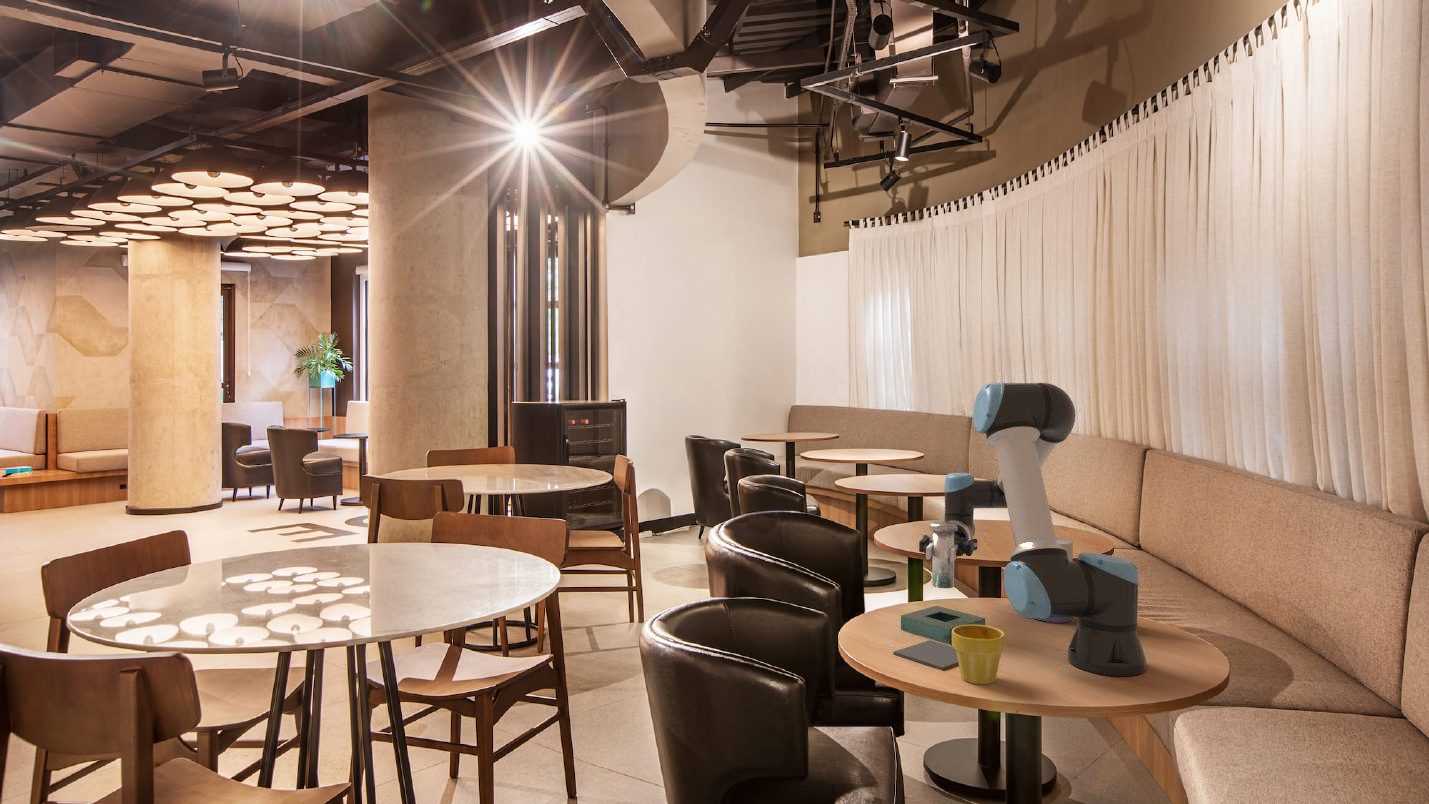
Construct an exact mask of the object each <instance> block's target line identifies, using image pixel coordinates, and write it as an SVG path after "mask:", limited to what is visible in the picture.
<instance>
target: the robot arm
mask: <svg viewBox="0 0 1429 804" xmlns="http://www.w3.org/2000/svg"><path fill="white" fill-rule="evenodd" d="M972 419H973V421H972V422H973V426H974V427H973V428H974V429H975V431H976V432H977V433H978V434H981V435H984V434H985V436H986V442H987V444H988V446H990V447H992V448H993V449H995V451H996V456H997V461H998V466H999V467H998V468H999V472H1000V473H999V475H998V476H997V477H996V479H995V480H993V479H992V480H991V479H989V480H983V479H982V480H981V479H979V480H977V479H975V477H974V475H973V474H972V473H967V472H950V473H947V474H946V476H945V480H944V490H943V491H944V521H943V522H953V523H956V524H957V531H956V532H954V546H953V548H952V549H951V561H953V562H954V563H955V561H956V559H957V558H958V557H963V556H964V555H965V556H966V557H972V556H973V553H974V551H976V550H978V539H977V538H974V537H975V531H976V528H975V527H976V526H975V524H974V515H975V514H974V511H975V509H1007V512H1008V516H1009V522H1010V527H1011V533H1012V539H1013V541H1014V542H1013V543H1014V548H1015V549H1014V551H1013V552H1012V553H1011V555H1010V556H1009V560H1010V562H1008V564H1006V565H1005V568H1004V571H1003V576H1004V578H1003V587H1004V591H1005V594H1006V597H1007V599H1008V602H1009V604H1010V605H1011V606H1012V608H1013V610H1014V611H1016V613H1017V614H1018V615H1020V616H1022V617H1023V618H1029V619H1030V618H1031V619H1034V618H1039V619H1046V618H1057V617H1072V618H1077V619H1076V620H1077V621H1076V622H1077V623H1076V628H1075V630H1074V632H1073V635H1072V637H1071V641H1070V643H1069V646H1068V649H1067V660H1068V661H1067V662H1069V664H1071V665H1072V666H1074V667H1076V668H1078V669H1081V670H1083V671H1087V672H1091V673H1093V674H1094V673H1095V674H1099V675H1104V676H1105V675H1106V676H1114V677H1133V676H1138V675H1141V674H1144V673H1145V672H1146V670H1147V658H1146V655H1145V652H1144V649H1143V646H1142V643H1141V640H1140V637H1139V633H1138V613H1139V612H1138V609H1139V607H1138V606H1139V586H1140V581H1139V572H1138V569H1137V568H1138V567H1137V565H1136V564H1135V563H1133V561H1130V560H1128V559H1125V558H1121V557H1119V556H1113V555H1109V554H1103V553H1097V552H1089V551H1088V552H1087V551H1086V552H1085V551H1084V552H1080V553H1079V554H1078V556H1076V559H1077V560H1073V561H1069V559H1068V555H1067V551H1066V549H1065V548H1063V547H1061V546H1060V545H1058V543H1057V541H1056V537H1057V536H1056V532H1055V528H1054V527H1055V526H1054V524H1053V519H1052V514H1051V509H1050V506H1049V499H1048V497H1047V491H1046V486H1045V483H1044V477H1043V474H1042V469H1041V468H1042V467H1043V465H1044V464H1045V461H1046V460H1047V459H1048V458H1049V456H1050V455H1051V453H1052V452H1053V450H1054V449H1055V447H1056V446H1057V445H1058V444H1061V443H1063V442H1065V441H1066V440H1067V438H1068V437H1069V435H1070V434H1071V432H1072V430H1073V429H1074V426H1075V422H1076V408H1075V405H1074V402H1073V400H1072V399H1071V397H1070V396H1069V395H1068V393H1067V392H1065V390H1064V389H1062V388H1060V387H1059V386H1057V385H1055V384H1052V383H1048V382H1036V383H1035V382H1004V381H1003V382H1002V381H1000V382H999V383H998V382H997V383H996V382H995V383H993V382H992V383H987V384H984V385H983V386H982V387H981V388H980V389H979V390H978V393H977V394H976V397H975V401H974V404H973V414H972ZM918 544H919V545H918V546H919V547H918V552H919V553H923V554H925V560H931V558H933V537H932V536H929V535H927V534H924V535H923V536H922V539H921V540H919V542H918Z"/></svg>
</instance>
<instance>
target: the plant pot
mask: <svg viewBox="0 0 1429 804" xmlns="http://www.w3.org/2000/svg"><path fill="white" fill-rule="evenodd" d="M951 646H952V647H953V648H954V649H955V650H956V654H957V659H958V663H959V665H958V668H959V671H960V672H959V674H960V677H961V679H962V680H963V681H964V682H966V681H967V683H969V684H973V685H991V684H993V683H994V682H995V681H996V680H997V675H998V669H999V665H1000V660H1001V655H1002V654H1003V653H1004V652H1005V649H1006V647H1005V646H1006V635H1005V632H1004V631H1003V630H1001V629H999V628H997V627H993V626H989V625H985V626H984V625H961V626H957V627H955V628H953V629H952V644H951Z"/></svg>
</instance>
